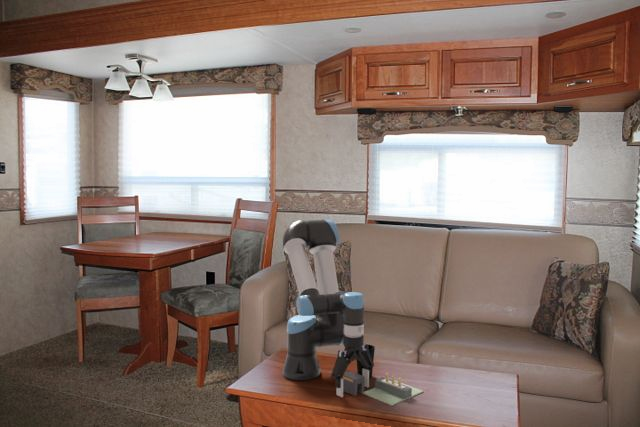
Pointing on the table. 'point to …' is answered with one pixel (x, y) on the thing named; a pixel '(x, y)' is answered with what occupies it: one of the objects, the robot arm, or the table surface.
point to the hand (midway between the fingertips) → (352, 391)
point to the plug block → (353, 383)
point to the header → (391, 391)
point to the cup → (371, 351)
